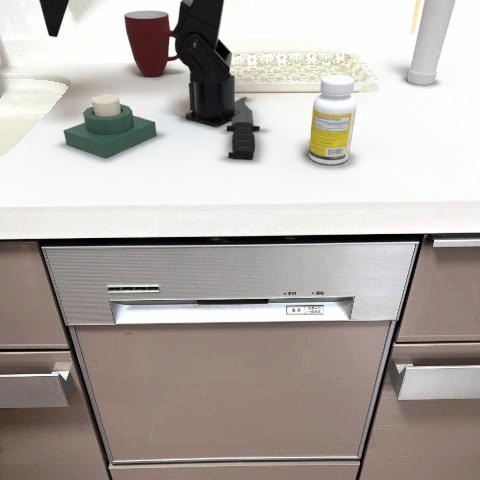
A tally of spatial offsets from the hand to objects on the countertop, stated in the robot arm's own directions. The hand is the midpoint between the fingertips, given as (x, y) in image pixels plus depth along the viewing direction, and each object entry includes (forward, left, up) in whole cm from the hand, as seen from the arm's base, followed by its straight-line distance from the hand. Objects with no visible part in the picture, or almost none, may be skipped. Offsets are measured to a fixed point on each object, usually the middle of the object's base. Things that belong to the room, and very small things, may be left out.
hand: (55, 27), depth 67 cm
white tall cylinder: (-39, -51, -12) cm, 65 cm away
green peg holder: (-13, +4, -12) cm, 18 cm away
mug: (+5, -25, -12) cm, 28 cm away
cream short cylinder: (-13, +4, -9) cm, 16 cm away
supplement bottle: (-41, -9, -12) cm, 43 cm away
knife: (-24, -12, -13) cm, 30 cm away
